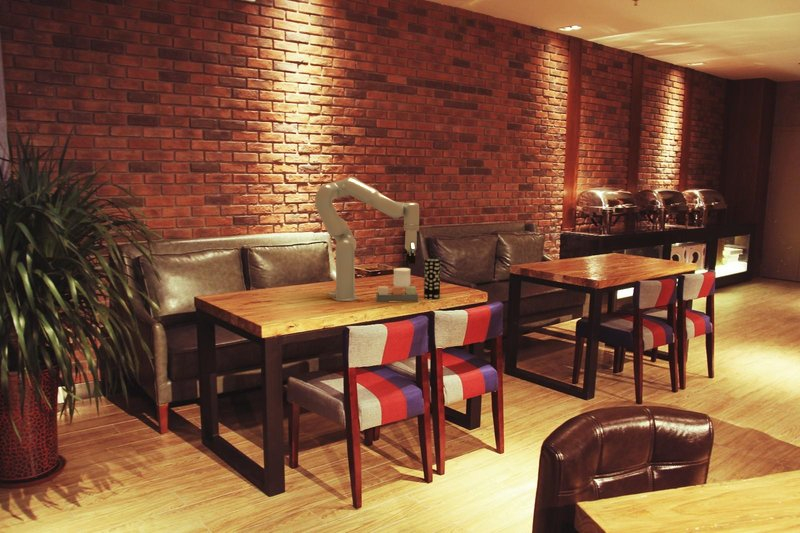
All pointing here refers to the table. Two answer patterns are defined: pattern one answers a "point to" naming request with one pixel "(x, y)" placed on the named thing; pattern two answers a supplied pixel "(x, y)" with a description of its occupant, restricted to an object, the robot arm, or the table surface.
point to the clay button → (396, 290)
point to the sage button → (410, 290)
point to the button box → (396, 297)
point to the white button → (382, 290)
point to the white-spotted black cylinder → (432, 278)
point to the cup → (401, 277)
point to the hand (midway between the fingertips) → (411, 262)
